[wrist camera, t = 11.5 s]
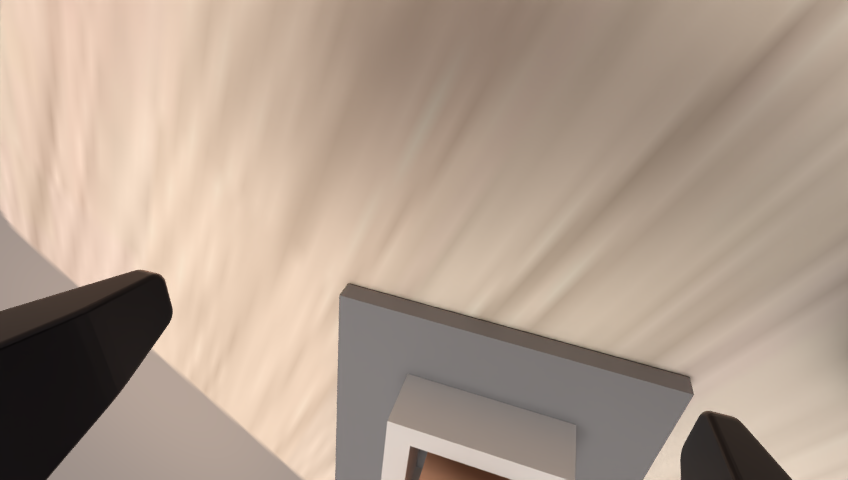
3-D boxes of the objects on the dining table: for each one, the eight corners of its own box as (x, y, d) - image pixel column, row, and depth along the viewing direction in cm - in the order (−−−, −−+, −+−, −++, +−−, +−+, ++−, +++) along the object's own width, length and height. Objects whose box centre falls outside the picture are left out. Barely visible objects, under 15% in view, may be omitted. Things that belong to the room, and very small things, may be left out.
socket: (689, 377, 21) (708, 456, 18) (584, 559, 29) (584, 636, 26) (348, 283, 24) (309, 335, 21) (341, 473, 32) (313, 532, 29)
